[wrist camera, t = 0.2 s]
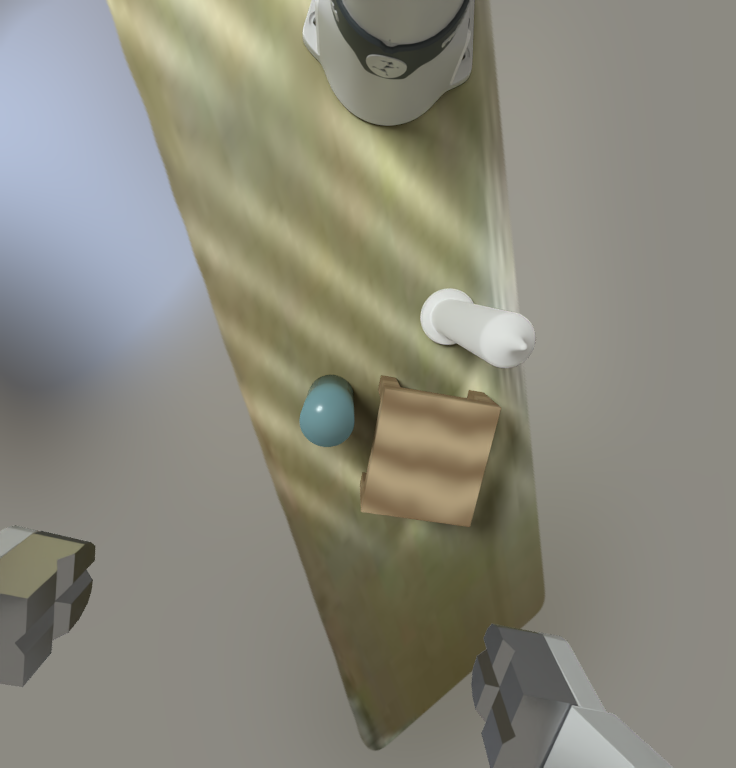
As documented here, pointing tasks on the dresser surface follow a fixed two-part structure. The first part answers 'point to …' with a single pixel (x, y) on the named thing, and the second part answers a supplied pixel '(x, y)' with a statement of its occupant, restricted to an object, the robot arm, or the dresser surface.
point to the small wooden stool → (428, 454)
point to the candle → (478, 328)
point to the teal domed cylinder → (328, 411)
